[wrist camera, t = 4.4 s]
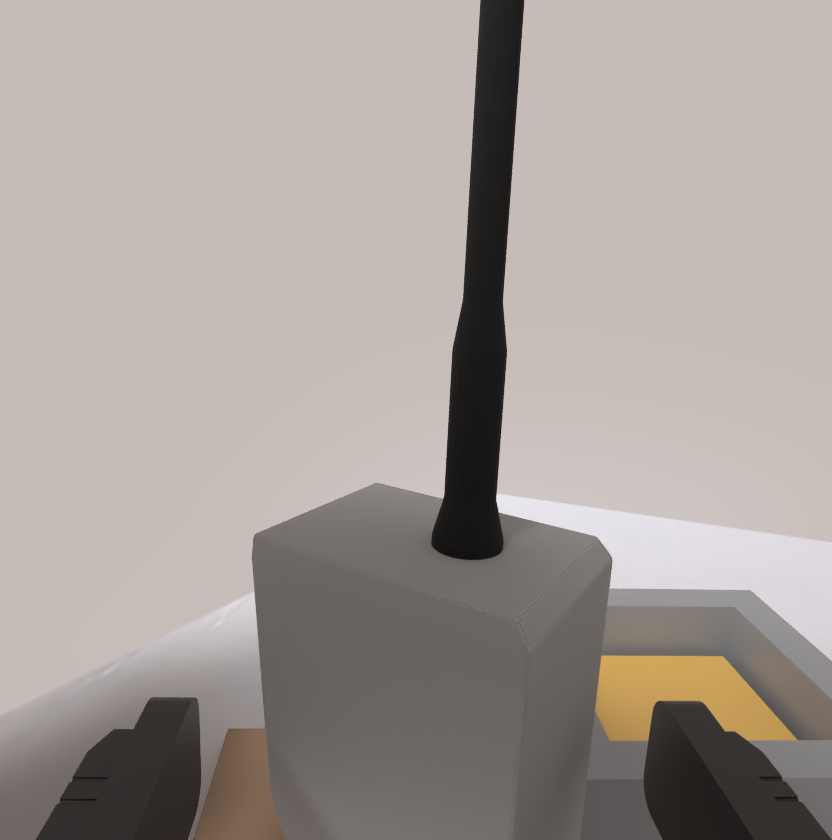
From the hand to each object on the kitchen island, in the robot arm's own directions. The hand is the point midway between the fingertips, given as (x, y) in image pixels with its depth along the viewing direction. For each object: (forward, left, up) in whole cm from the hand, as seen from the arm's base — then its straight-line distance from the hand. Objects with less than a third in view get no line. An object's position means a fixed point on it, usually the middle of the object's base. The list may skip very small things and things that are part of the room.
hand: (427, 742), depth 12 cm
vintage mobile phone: (0, 0, -13) cm, 13 cm away
